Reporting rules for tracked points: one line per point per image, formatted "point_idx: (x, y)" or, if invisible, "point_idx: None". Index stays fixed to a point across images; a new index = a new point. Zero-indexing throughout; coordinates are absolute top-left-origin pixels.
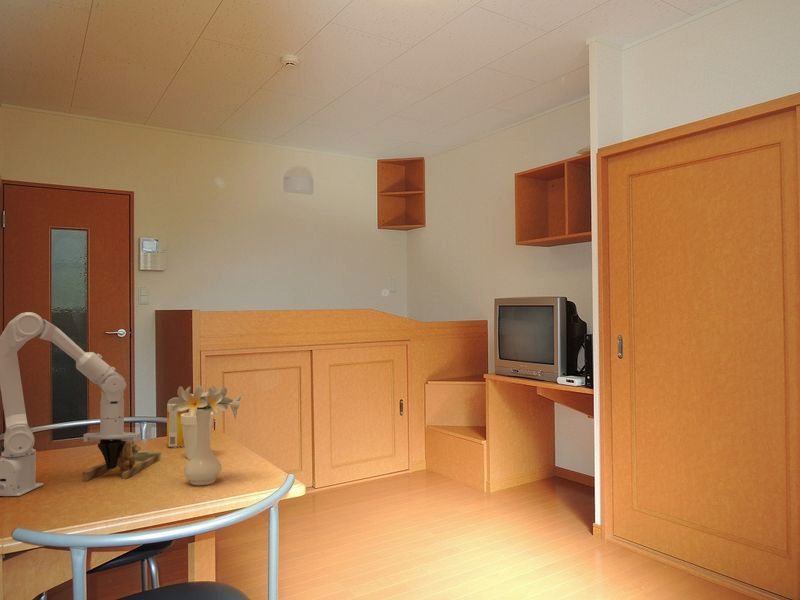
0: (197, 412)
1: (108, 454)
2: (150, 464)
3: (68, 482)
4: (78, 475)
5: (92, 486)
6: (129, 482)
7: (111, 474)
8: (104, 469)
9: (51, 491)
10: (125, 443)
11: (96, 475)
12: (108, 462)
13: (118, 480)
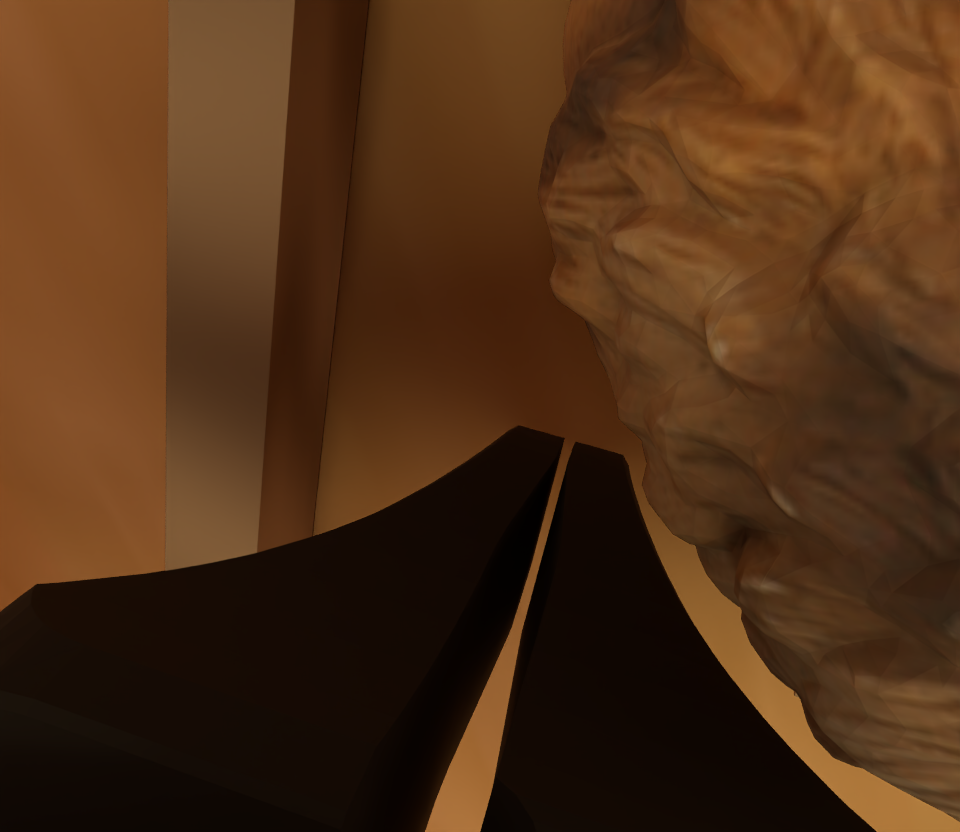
0: None
1: (426, 811)
2: None
3: (97, 557)
4: (19, 220)
5: (463, 806)
6: (931, 817)
7: (532, 283)
8: (333, 121)
9: None
10: (927, 793)
11: (321, 379)
12: (485, 676)
13: (741, 673)
